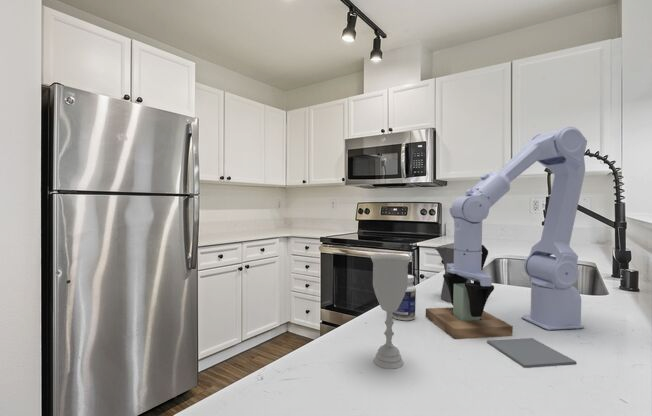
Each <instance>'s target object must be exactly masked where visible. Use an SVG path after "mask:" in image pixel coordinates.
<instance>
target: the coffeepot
mask: <svg viewBox="0 0 652 416" xmlns="http://www.w3.org/2000/svg"><path fill="white" fill-rule="evenodd" d="M434 250H436V251H437V253H438V254H439V256H440V257H441V260H442V262H443V268H444V274H448V273H449V272H447V271H446V269H447V264H451V263H454V242H452V243H446V244H441V245H440V246H436V247H435V248H434ZM488 256H489V250H488V249H487V248H486V246H485V245H483V244H482V258H481V270H482V271H483V269H484V266H485V263H486V260H487V258H488ZM466 283H472V280H469V279H468V280H467V282H466ZM440 299H441V300H442V301H444V302H446V301H447V303H450V302H451V297H450V293H449V289H448V286H447V283H446V281H445V279H444V278H443V281H442V288H441V294H440ZM450 304H452V302H451V303H450Z"/></svg>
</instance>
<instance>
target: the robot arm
mask: <svg viewBox="0 0 652 416" xmlns="http://www.w3.org/2000/svg"><path fill="white" fill-rule="evenodd" d="M587 145H588V140H587V138H586V137H585V136H584V135H583V133H582V132H581V131H580V129H579V128H576V127H575V126H566V127H563V128H561V129H558V130H555V131H554V130H553V131H549V132H546V133H540V134H539V133H538V134H536V135H534V136H532V137H531V139H530V140H527V141H526V142H525V143H524V145H523V147H522V148H520V149H519V151H518V152H517V153H516V154H515V155H513V157H512V158H511V159H510V160H508V162H507V163H506V164H505V165H504V166H502V168H501V169H500V170H498V172H494V171H492V172H488V173H483V174H482V175H481V176H480V179H481V180H479V181H478V182H477V183H476V184H475V185H474V186H473V187H471V188H468V189H467V190H465V195H464V196H459V197H456V198H455V199H454V200H453V202H452V205H451V207H449V213H450V215H451V217H452V218H453V223H454V225H453V227H454V233H453V234H454V235H453V243H454V263H451V264H447V269H446V271H447V272H449V273H448V274H445V273H444V274H442V278H443V280H444V279H445V281H446V283H447V286H448V289H449V293H450V297H451V302H452V303H451V304H452V306H453V293H454V284H464V283H465V287H466V289H467V292H468V296H469V303H470V313H471V316H472V317H481V316H482V313H483V311H484V309H485V307H486V304H487V301H488V299H489V297H490V295H491V294H492V292H494V290H495V286H494V285H493V283H492V281H493V279H492V278H493V277H492V275H488V274H487V273H486V272H484V271H483V269H482V270H481V258H482V245H483V220H486V219H487V218H488V216H489V213H490V208H492V207H493V206H495V204H496V203H497V202H499V200H500V199H502V198H503V197H504V196H505V195H506V194H507V193H508V192H509V191H510V189H511V183H512V181H514V180H515V179H516V178H518V177H519V176H520V175H521V174H522V173H524V172H526V170H527V169H529V168H531V166H532V165H534V164H535V163H536V162H537V163H539V164H540V165H542V166H543V167H545V168H546V169H548V170H549V171H550V172H551V174H553V182H552V187H551V192H550V195H549V199H548V200H549V201H548V205H547V210H546V213H545V214H546V215H545V220H544V224H543V228H542V231H541V232H542V233H541V238H540V240H539V241H538V242H537V243H535V244H534V245H532V247H531V248H530V252H529V255H528V256H527V257H526V259H525V260H524V264H523V266H524V267H523V268H524V272H525V273H526V275H527V276H528V277H529V282H531V283H530V285H531V286H530V310H529V311H530V313H529V314H530V315H521V317H520V318H522V319H523V320H526V321H527V322H530V323H531V324H534V325H536V326H538V327H540V328H543V329H544V330H547V331H549V330H551V331H552V330H569V329H584V328H585V325H583V324H582V323H581V322H582V320H581V319H582V318H581V317H582V296H581V293H580V291H579V290H578V288H576V287H575V286H573V285H575V284H576V282H577V281H578V277H579V272H580V271H579V268H578V259H579V256H578V254H577V253H576V252H575V251H574V249H572V248H571V246H570V244H571V239H572V233H573V229H574V224H575V219H576V215H577V211H578V206H579V201H580V198H581V197H580V196H581V192H582V186H583V182H584V178H585V174H586V163H585V153H586V149H587ZM553 255H554V256H553ZM468 279H469V280H471V283H466V282H467V280H468Z"/></svg>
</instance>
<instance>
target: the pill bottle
mask: <svg viewBox="0 0 652 416" xmlns="http://www.w3.org/2000/svg"><path fill="white" fill-rule="evenodd" d="M414 281H415V276H414V275H412V274H408V287H407V290H406V292H405V295H404V298H403V300H402V302H401V304H400V306H399V308H398V310H396V311H394V312H393V313H392V319H395V320H398V321H413V320H414V319H415V318H416V305H417V304H416V302H417V301H416V299H417V298H416V297H417V295H416V293H417V290H416V289H417V287H416V286H415V284H413V283H414Z"/></svg>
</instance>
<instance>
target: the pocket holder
mask: <svg viewBox="0 0 652 416" xmlns="http://www.w3.org/2000/svg"><path fill="white" fill-rule="evenodd" d="M425 317H426V318H427V320H429V321H430V322H431V323H433V324H434V325H436V326H437V327H438V328H440V329H441V330H442V331H443V332H445V333H446V334H448V335H449V336H450V337H451V338H452V339H455V340H456V339H458V340H459V339H474V338H475V339H476V338H490V337H491V338H493V337H494V338H496V337H512V336H513V325H511V324H509V323H508V322H505V321H504V320H502V319H500V318H498V317H496V316H494V315H492V314H491V313H489V312H486V311H484V310H483V313H482V316H481V317H480V320H476V321H461V320H459V319H458V318H456V317H455V316H453V306H452V307H433V308H432V307H429V308H427V307H426V308H425Z"/></svg>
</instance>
